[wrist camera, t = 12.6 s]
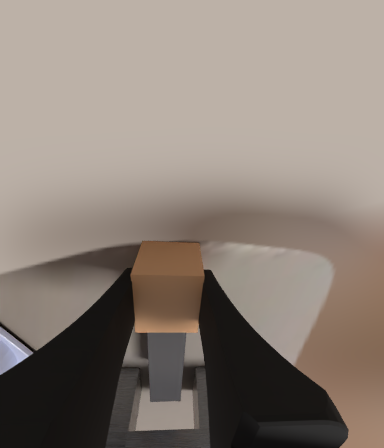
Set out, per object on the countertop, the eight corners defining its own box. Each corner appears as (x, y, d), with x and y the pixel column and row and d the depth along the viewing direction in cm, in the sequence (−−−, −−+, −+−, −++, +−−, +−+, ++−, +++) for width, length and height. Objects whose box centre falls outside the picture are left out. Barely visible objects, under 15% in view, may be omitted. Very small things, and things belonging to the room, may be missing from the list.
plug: (187, 360, 17) (188, 404, 14) (147, 360, 17) (141, 405, 14) (199, 242, 12) (204, 276, 9) (142, 240, 12) (130, 274, 9)
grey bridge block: (237, 389, 20) (253, 467, 15) (93, 392, 18) (64, 477, 14) (244, 366, 18) (266, 446, 13) (86, 368, 17) (51, 456, 12)
